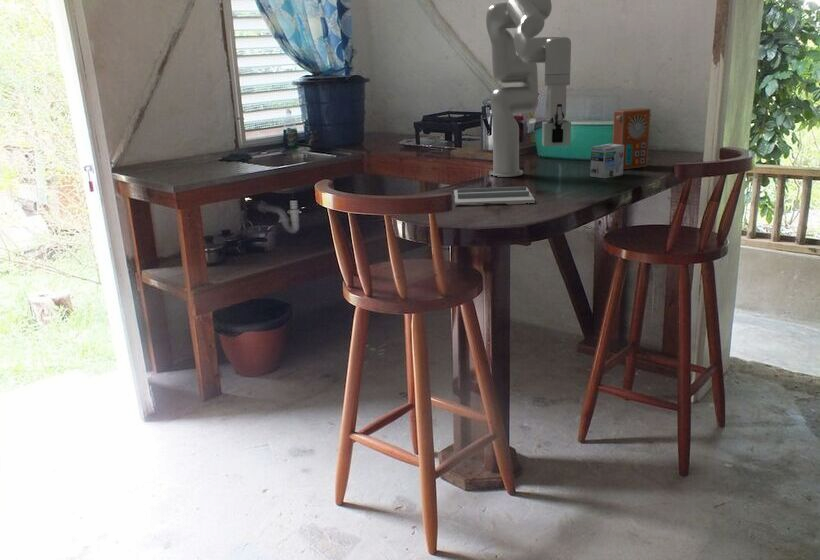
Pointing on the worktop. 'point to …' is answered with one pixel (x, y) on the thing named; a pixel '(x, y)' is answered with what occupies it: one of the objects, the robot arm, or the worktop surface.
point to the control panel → (632, 135)
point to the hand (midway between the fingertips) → (556, 140)
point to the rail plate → (494, 195)
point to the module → (547, 133)
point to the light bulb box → (607, 160)
